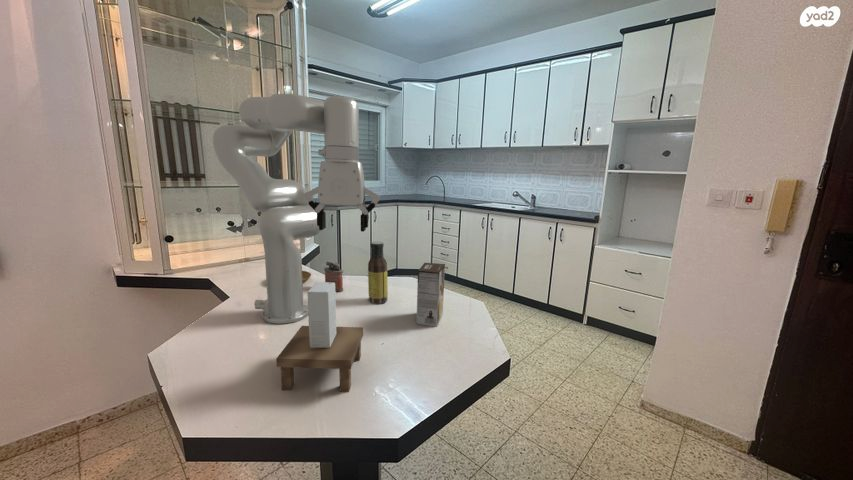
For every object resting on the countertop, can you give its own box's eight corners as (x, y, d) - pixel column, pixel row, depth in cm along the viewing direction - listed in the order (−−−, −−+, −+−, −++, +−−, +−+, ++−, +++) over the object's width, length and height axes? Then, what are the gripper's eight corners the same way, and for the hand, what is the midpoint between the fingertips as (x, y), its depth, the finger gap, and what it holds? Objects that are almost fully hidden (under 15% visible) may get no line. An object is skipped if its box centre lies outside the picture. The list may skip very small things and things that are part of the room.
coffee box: (422, 312, 106) (424, 261, 103) (443, 314, 105) (445, 263, 101) (415, 324, 97) (417, 270, 94) (438, 327, 96) (440, 272, 93)
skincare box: (317, 334, 75) (315, 281, 72) (336, 334, 75) (335, 282, 72) (308, 348, 69) (306, 291, 66) (330, 348, 69) (328, 292, 66)
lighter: (345, 290, 122) (345, 263, 120) (338, 293, 119) (337, 265, 117) (329, 285, 126) (329, 259, 124) (322, 288, 123) (321, 261, 122)
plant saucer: (262, 288, 122) (262, 281, 121) (277, 276, 136) (277, 269, 136) (305, 289, 123) (305, 282, 122) (315, 276, 137) (315, 270, 137)
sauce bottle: (381, 296, 118) (381, 239, 114) (391, 302, 113) (392, 242, 109) (364, 300, 114) (364, 241, 110) (374, 306, 109) (374, 245, 105)
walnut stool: (278, 391, 66) (276, 358, 65) (303, 353, 80) (301, 325, 78) (351, 393, 66) (350, 360, 65) (363, 355, 80) (363, 327, 79)
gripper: (297, 153, 74) (300, 231, 77) (378, 156, 74) (377, 234, 78) (309, 155, 81) (311, 226, 85) (382, 157, 82) (381, 228, 85)
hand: (342, 229), depth 81 cm, fingers open, 9 cm apart
